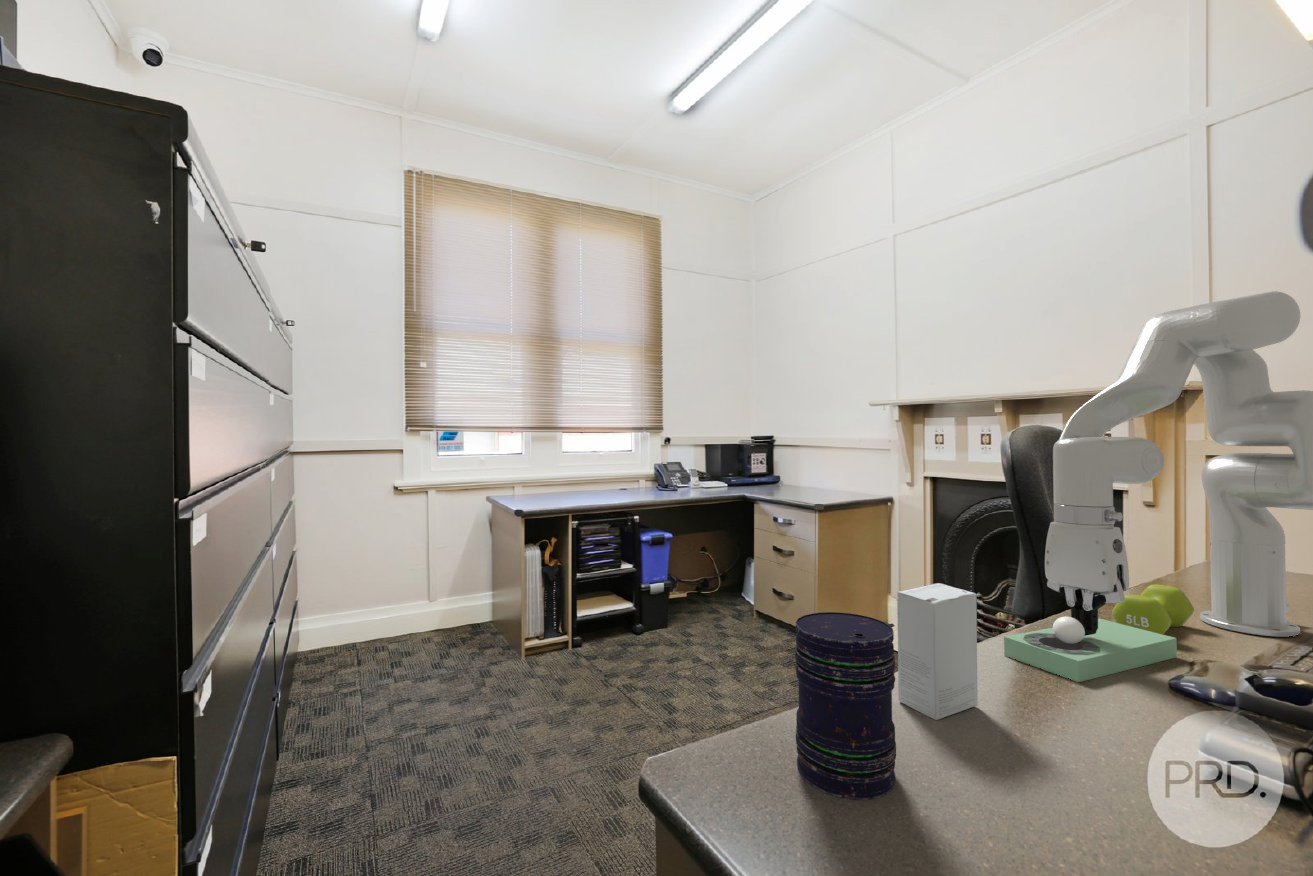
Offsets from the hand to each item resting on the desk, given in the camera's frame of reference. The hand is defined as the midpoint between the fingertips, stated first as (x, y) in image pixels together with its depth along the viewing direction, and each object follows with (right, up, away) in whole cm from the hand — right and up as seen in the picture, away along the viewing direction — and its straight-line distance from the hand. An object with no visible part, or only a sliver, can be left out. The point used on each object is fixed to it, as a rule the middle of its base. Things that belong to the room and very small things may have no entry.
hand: (1084, 633), depth 89 cm
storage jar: (-48, -4, -30) cm, 57 cm away
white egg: (-4, +1, -1) cm, 4 cm away
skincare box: (-31, -4, -16) cm, 35 cm away
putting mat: (+1, -4, 0) cm, 4 cm away
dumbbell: (+22, -4, +13) cm, 26 cm away
